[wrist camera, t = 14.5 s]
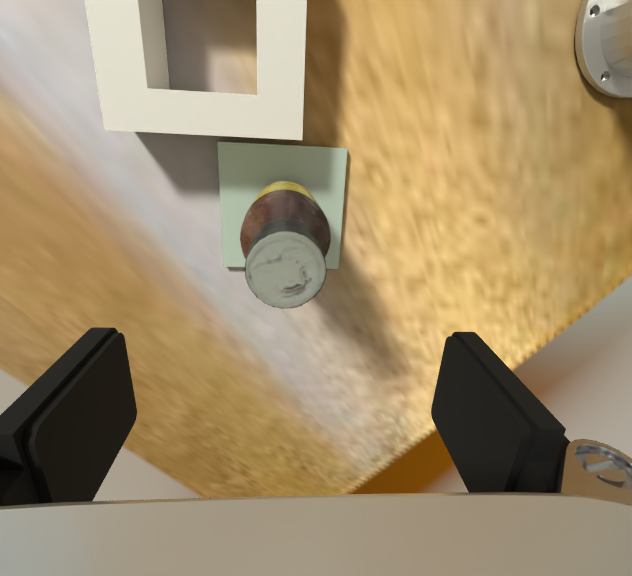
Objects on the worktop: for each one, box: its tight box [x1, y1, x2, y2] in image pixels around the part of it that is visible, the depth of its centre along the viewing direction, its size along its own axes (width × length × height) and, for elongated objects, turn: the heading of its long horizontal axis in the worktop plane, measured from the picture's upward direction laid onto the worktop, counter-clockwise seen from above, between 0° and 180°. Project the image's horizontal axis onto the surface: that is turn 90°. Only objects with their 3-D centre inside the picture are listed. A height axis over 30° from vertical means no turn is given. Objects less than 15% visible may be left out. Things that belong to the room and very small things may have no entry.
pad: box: [217, 142, 347, 269], centre depth 37 cm, size 12×12×1 cm
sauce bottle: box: [240, 181, 331, 309], centre depth 27 cm, size 6×6×20 cm
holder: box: [85, 0, 307, 140], centre depth 29 cm, size 15×15×6 cm
